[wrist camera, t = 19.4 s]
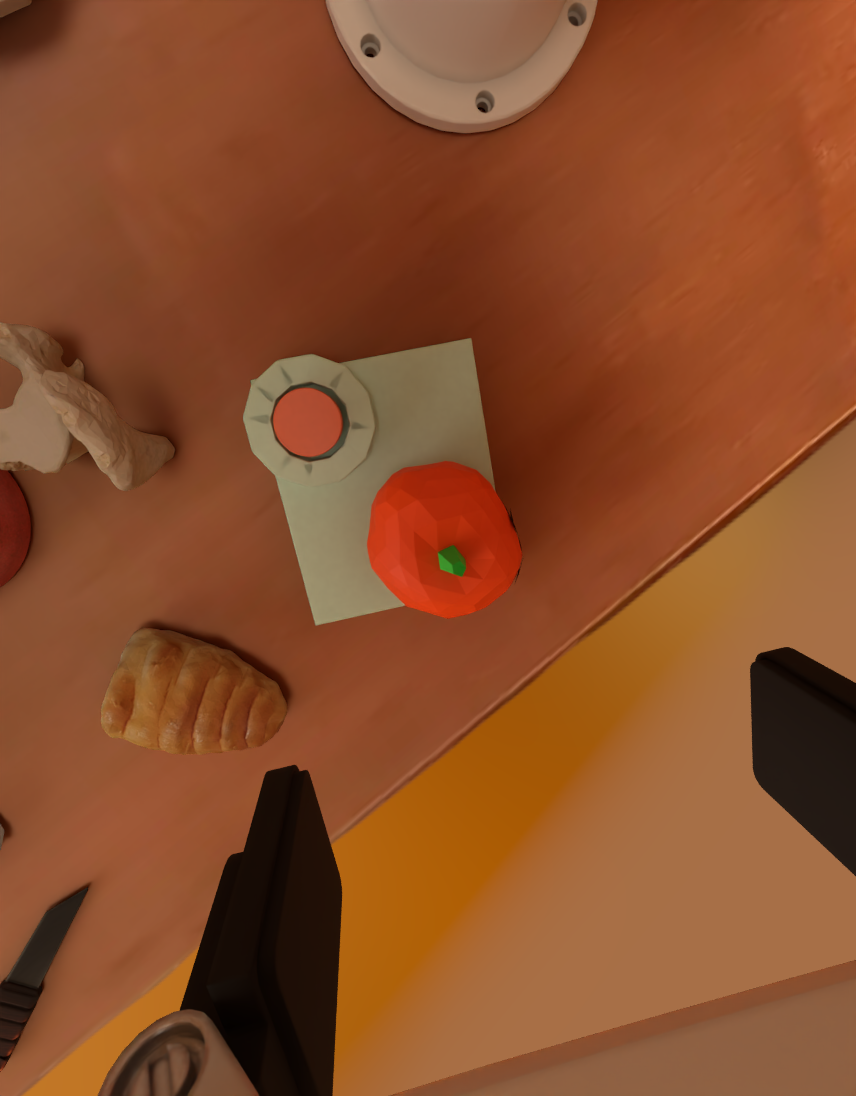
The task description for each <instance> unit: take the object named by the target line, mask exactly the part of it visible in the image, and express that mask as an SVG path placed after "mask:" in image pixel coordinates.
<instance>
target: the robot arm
mask: <svg viewBox="0 0 856 1096" xmlns="http://www.w3.org/2000/svg"><path fill="white" fill-rule="evenodd" d="M325 1H326V6H327V9H328V12H329V15H330V17H331V20H332V23H333V26H334V28H335V31H336V34H337V37H338V39H339V41H340V43H341V44H342V46H343V48H344V50H345V52H346V53H347V55H348V57H349V59H350V61H351V63H352V64H353V66H354V67H355V68H356V70H357V71H358V72H359V74H360V75H361V76H362V77H363V79H364V80H365V81H366V82H367V84H368V85H369V86H370V88H371V89H372V90H373V91H374V92H376V93H377V94H378V95H379V96H380V97H381V98H382V99H383V100H385V101H386V102H387V103H388V104H389V105H390V106H391V107H392V108H394V109H395V110H397V111H399V112H400V113H402V114H404V115H405V116H407V117H409V118H410V119H412V120H414V121H415V122H418V123H421V124H423V125H426V126H429V127H432V128H435V129H438V130H441V131H449V132H458V133H474V132H483V131H490V130H493V129H496V128H499V127H502V126H505V125H508V124H511V123H513V122H515V121H517V120H518V119H520V118H522V117H523V116H525V115H526V114H528V113H530V112H531V111H533V110H535V109H536V108H537V107H538V106H539V105H540V104H541V103H542V102H543V101H544V100H545V99H546V98H547V97H548V96H549V95H551V94H552V93H553V92H554V90H555V89H556V88H557V86H558V85H559V83H560V82H561V81H562V79H563V78H564V77H565V75H566V74H567V72H568V71H569V70H570V68H571V66H572V64H573V62H574V61H575V59H576V57H577V55H578V53H579V52H580V50H581V48H582V46H583V44H584V42H585V40H586V37H587V35H588V32H589V30H590V28H591V25H592V22H593V19H594V16H595V11H596V6H597V2H598V0H325ZM369 53H370V54H373V55H374V56H375V57H373V58H372V57H367V56H366V55H367V54H369ZM479 107H482V108H484V109H485V111H486V113H484V112H481V111H480V110H479V109H478V108H479ZM750 678H751V713H752V714H751V717H752V752H753V771H754V775H755V778H756V780H757V781H758V783H759V785H760V786H761V787H762V788H763V789H764V790H765V791H766V792H767V793H768V794H769V795H770V796H771V797H772V798H773V799H775V801H777V802H778V803H779V804H780V805H781V806H782V807H783V808H784V809H785V810H786V811H787V812H788V813H789V814H790V815H791V816H792V817H793V818H795V819H796V820H797V821H798V822H799V823H800V824H801V825H802V826H803V827H804V828H805V829H806V830H807V831H808V832H809V833H810V834H811V835H813V836H814V837H815V838H816V839H817V840H818V841H819V842H820V843H821V844H822V845H823V846H824V847H825V848H826V849H827V850H828V851H829V852H831V853H832V854H833V855H834V856H835V857H836V858H837V859H838V860H839V861H840V862H841V863H842V864H843V865H844V866H845V867H847V868H848V869H849V870H850V871H851V872H852V873H853V874H854V875H855V876H856V683H854V682H853V681H851V680H849V679H847V678H845V677H844V676H842V675H840V674H838V673H836V672H835V671H833V670H831V669H829V668H827V667H825V666H824V665H822V664H820V663H818V662H816V661H814V660H813V659H811V658H809V657H807V656H805V655H804V654H802V653H800V652H798V651H796V650H795V649H792V648H789V647H784V648H779V649H775V650H771V651H767V652H763V653H760V654H758V655H757V657H756V661H755V662H754V663H752V665H751V668H750ZM341 907H342V886H341V879H340V874H339V871H338V867H337V864H336V861H335V857H334V854H333V851H332V847H331V844H330V841H329V837H328V834H327V831H326V827H325V824H324V821H323V817H322V814H321V811H320V807H319V804H318V801H317V797H316V794H315V791H314V787H313V784H312V781H311V777H310V774H309V772H308V770H304V771H299V769H298V767H297V766H296V765H292V766H287V767H283V768H279V769H275V770H271V771H268V772H266V774H265V777H264V780H263V784H262V787H261V791H260V794H259V798H258V802H257V805H256V809H255V812H254V816H253V820H252V823H251V827H250V830H249V834H248V838H247V841H246V845H245V848H244V852H241V853H236V854H232V855H231V856H230V857H229V858H228V860H227V862H226V864H225V867H224V870H223V873H222V876H221V879H220V883H219V886H218V889H217V892H216V895H215V899H214V902H213V905H212V908H211V911H210V915H209V918H208V921H207V924H206V927H205V931H204V934H203V937H202V940H201V943H200V947H199V950H198V953H197V956H196V960H195V963H194V966H193V969H192V973H191V976H190V979H189V982H188V985H187V988H186V992H185V995H184V998H183V1001H182V1004H181V1008H180V1011H176V1012H173V1013H171V1014H169V1015H167V1016H165V1017H162V1018H160V1019H159V1020H156V1021H155V1022H154V1023H153V1024H151V1025H150V1026H149V1027H147V1028H146V1029H145V1030H143V1031H142V1032H141V1033H139V1034H138V1035H137V1036H136V1037H135V1039H134V1040H133V1041H132V1042H131V1043H130V1044H129V1045H128V1046H127V1047H126V1048H125V1049H124V1050H123V1051H122V1053H121V1054H120V1056H119V1057H118V1059H117V1060H116V1062H115V1063H114V1064H113V1066H112V1068H111V1069H110V1071H109V1072H108V1074H107V1076H106V1078H105V1080H104V1083H103V1085H102V1087H101V1089H100V1092H99V1094H98V1096H332V1093H333V1072H334V1052H335V1051H334V1050H335V1031H336V1011H337V990H338V988H337V987H338V970H339V948H340V928H341ZM390 1096H856V960H854V961H850V962H847V963H843V964H839V965H836V966H832V967H829V968H825V969H821V970H818V971H815V972H811V973H807V974H804V975H800V976H797V977H793V978H789V979H786V980H783V981H779V982H775V983H772V984H768V985H765V986H761V987H758V988H754V989H750V990H747V991H744V992H740V993H737V994H733V995H729V996H726V997H722V998H719V999H715V1000H712V1001H708V1002H704V1003H701V1004H697V1005H694V1006H690V1007H687V1008H683V1009H680V1010H676V1011H673V1012H669V1013H666V1014H662V1015H659V1016H655V1017H652V1018H648V1019H645V1020H641V1021H638V1022H634V1023H631V1024H627V1025H624V1026H620V1027H617V1028H613V1029H610V1030H607V1031H603V1032H600V1033H596V1034H593V1035H589V1036H586V1037H582V1038H579V1039H576V1040H572V1041H569V1042H565V1043H562V1044H558V1045H555V1046H551V1047H548V1048H545V1049H541V1050H538V1051H534V1052H531V1053H528V1054H524V1055H521V1056H517V1057H513V1058H510V1059H507V1060H503V1061H500V1062H497V1063H493V1064H489V1065H486V1066H483V1067H480V1068H477V1069H473V1070H470V1071H467V1072H464V1073H460V1074H457V1075H454V1076H451V1077H448V1078H445V1079H441V1080H439V1081H435V1082H432V1083H429V1084H426V1085H423V1086H419V1087H416V1088H413V1089H410V1090H406V1091H403V1092H400V1093H397V1094H393V1095H390Z"/></svg>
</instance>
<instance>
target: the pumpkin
mask: <svg viewBox="0 0 856 1096" xmlns="http://www.w3.org/2000/svg"><path fill="white" fill-rule="evenodd" d="M505 508H506V507H504V505H503V503H502V502H501V500H500V498H499V497H498V495H497V493H496V492H495V490H494V488H493V487H492V485H491V483H490V482H489V481H488V480H487V479H486V478H485V477H484V476H483V475H482V474H480V473H479V472H478V471H477V470H476V469H473V468H470V467H467V466H464V465H461V464H459V463H456V462H451V461H443V462H438V463H433V464H428V465H420V466H412V467H404V468H402V469H401V470H399V471H397V472H395V473H394V474H392V475H391V477H390V478H389V479H388V480H387V481H386V483H385V484H384V485H383V486H382V487H381V489H380V490H379V491H378V492H377V494H376V497H375V499H374V501H373V503H372V506H371V517H370V527H369V534H368V540H367V549H368V555H369V559H370V563H371V568H372V569H373V570H374V572H375V573H376V574H377V575H378V577H379V578H380V579H381V580H382V582H383V583H384V584H385V585H386V587H387V588H388V589H389V590H390V591H391V592H392V593H393V594H394V595H395V596H396V597H397V598H398V599H399V600H400V601H402V602H403V603H404V604H405V605H406V606H408V607H411V608H414V609H418V610H421V611H424V612H428V613H431V614H434V615H437V616H441V617H444V618H447V619H449V618H453V617H458V616H463V615H467V614H469V613H472V612H475V611H478V610H480V609H483V608H485V607H487V606H488V605H489V604H491V603H492V602H493V601H494V600H496V599H497V598H498V597H500V596H501V595H502V594H503V593H505V592H506V591H507V589H508V588H509V587H510V586H511V584H512V582H513V580H514V579H515V577H516V575H517V572H518V574H519V571H520V569H519V567H521V566H520V563H521V559H522V552H521V545H519V543H520V541H518V538H519V537H517V534H518V533H517V534H516V532H517V531H516V532H515V530H516V528H515V529H514V527H515V526H514V523H513V518H512V514H511V517H509V516H510V515H508V514H509V513H507V512H508V511H506V510H507V509H505ZM510 513H511V510H510ZM523 557H524V556H523ZM522 560H523V559H522ZM521 564H522V563H521ZM517 577H518V575H517ZM516 579H517V578H516ZM515 582H516V581H515ZM514 585H515V584H514Z"/></svg>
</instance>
